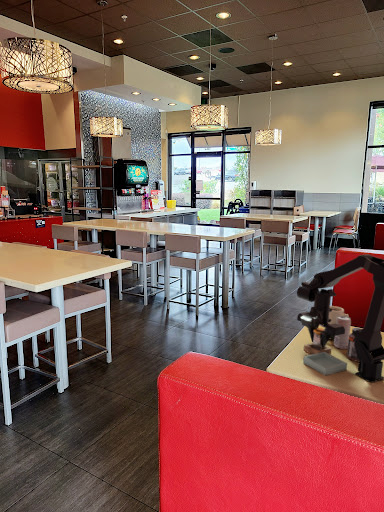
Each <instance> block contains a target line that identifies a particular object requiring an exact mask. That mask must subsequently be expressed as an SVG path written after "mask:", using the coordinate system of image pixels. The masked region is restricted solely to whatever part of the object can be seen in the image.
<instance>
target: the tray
mask: <svg viewBox="0 0 384 512" xmlns="http://www.w3.org/2000/svg"><path fill="white" fill-rule="evenodd" d="M302 363H303V364H304V365H306V366H308V367H310V368H311V369H312V370H315V371H317V372H318V373H320V374H322V375H323V376H329V375H333V374H336V373H340V372H343V371H347V368H348V362H346V361H344V360H342V359H340V358H338V357H336V356H334V355H332V354H328V353H326V352H321V353H317V354H309V355H305V356H303V362H302Z"/></svg>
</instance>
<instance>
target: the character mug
mask: <svg viewBox="0 0 384 512" xmlns="http://www.w3.org/2000/svg"><path fill="white" fill-rule="evenodd" d="M330 308H331V309H332V311H331V312H329V319H331V322H328V324H335V323H336V319H337V317H338V316H346V317H349V314H348V313H347V314H346V313H345V309H344V308H342V307H340V306H334V305H330ZM334 338H335V336H331V338H330V339H329V340H334Z"/></svg>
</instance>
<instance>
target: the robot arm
mask: <svg viewBox="0 0 384 512" xmlns="http://www.w3.org/2000/svg"><path fill="white" fill-rule="evenodd" d="M363 269H364V270H365V271H366V272H368V273H369V274H372V281H373V284H374V288H373V289H374V290H373V293H372V295H371V300H370V305H369V308H368V311H367V315H366V318H365V322H364V326H363V328H361V329H359V330H356V332H355V338H354V339H353V341H355V342H354V347H355V349H356V353H357V358H358V360H359V361H358V366H357V371H356V372H355V375H356V376H358V377H360V378H362V379H363V380H366V381H368V382H369V383H372V384H373V383H375V382H379V381H381V380H384V376H383V367H384V366H383V365H384V362H383V361H384V346H383V345H382V344H383V336H382V333H381V328H382V326H383V321H384V258H381V257H376V256H375V255H372V254H369V253H367V254H360V255H358V256H356V257H354V258H353V259H351V260H348V261H347V262H345V263H342V264H341V265H339V266H337V267H335V268H333V269H329V270H325V271H320V272H317V273H315V274H314V275H313V279H311V281H310V282H308V281H301V284H300V286H298V288H297V290H296V296H297V298H299V299H302V300H305V301H307V302H309V303H313V306H311V308H310V311H305V312H300V313H298V314H297V317H296V318H297V319H296V320H297V321H298V322H300V323H301V325H302V326H304V327H306V328H307V330H308V333H309V337H310V340H311V343H313V340H314V332H313V331H314V328H320V327H321V328H323V329H324V330H323V331H320V332H321V333H322V347H325V346H327V343H329V341H330V340H331V339H330V338H331V336H337V335H341V334H345V328H344V326H342V325H339V324H337V323H335V324H328V322H331V319H329V312H331V311H332V309H331V308H330V306H331V300H332V298H333V297H336V296H337V294H336V292H335V291H334V290H333V288H332V287H334V286H336V285H337V284H338V283H339V282H340V281H341V280H342V279H344V278H346V277H348V276H349V275H352V274H354V273H356V272H359V271H361V270H363ZM327 288H329V289H327ZM330 288H331V289H330ZM319 326H320V327H319Z"/></svg>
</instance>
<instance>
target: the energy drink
mask: <svg viewBox="0 0 384 512" xmlns="http://www.w3.org/2000/svg"><path fill="white" fill-rule="evenodd" d="M336 323H337V324H339V325H342V326H344V328H345V334H341V335H337V336H335V338H334V339H333V346H334V347H335V348H337V349H338V350H339V349H340V350H346V349H347V350H348V340H349V335H350V334H351V332H350V331H351V325H352V320H351V317H349V316H348V317H346V316H338V317H337V319H336Z"/></svg>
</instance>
